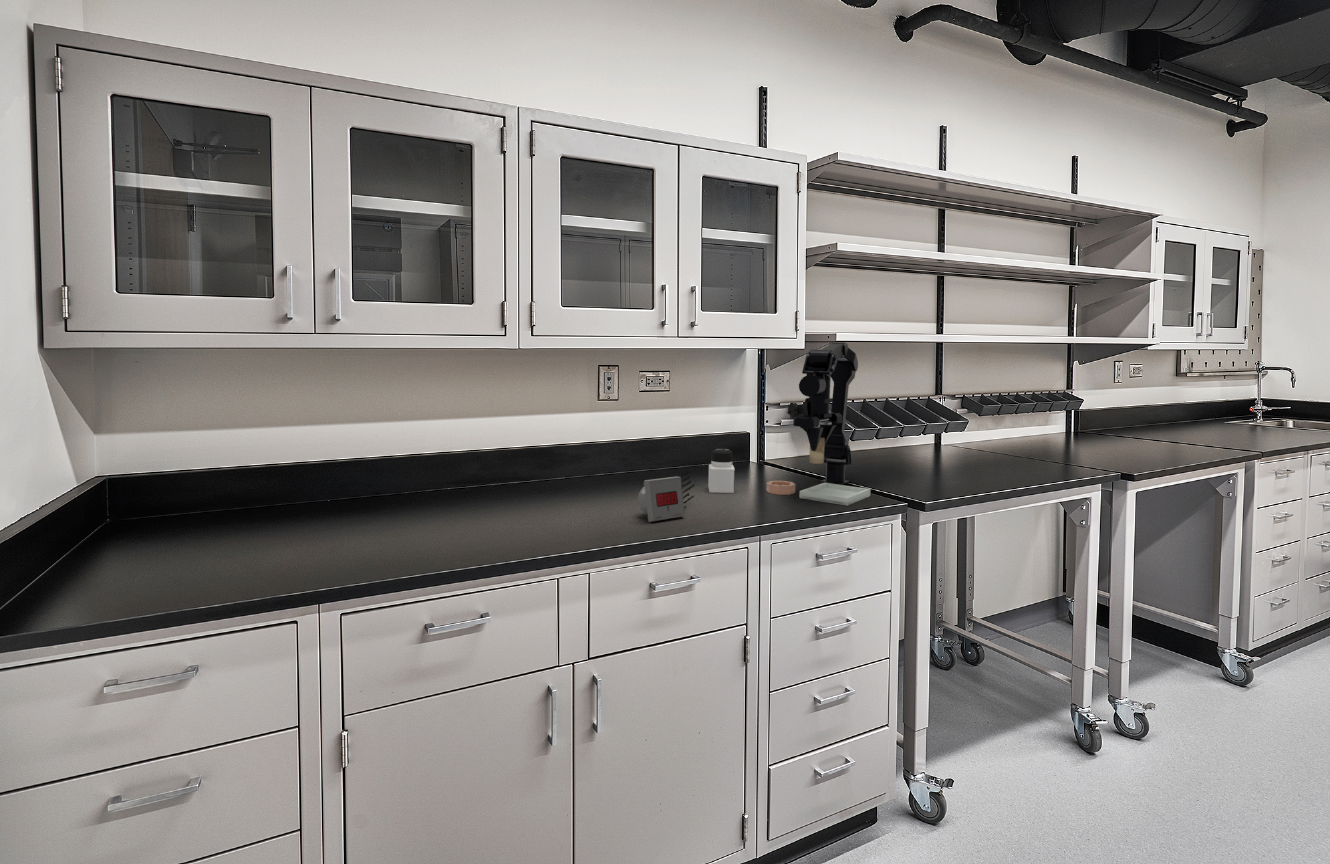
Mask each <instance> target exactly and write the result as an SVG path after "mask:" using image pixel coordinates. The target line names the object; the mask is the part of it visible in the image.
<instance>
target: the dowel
mask: <svg viewBox="0 0 1330 864" xmlns="http://www.w3.org/2000/svg"><path fill="white" fill-rule="evenodd" d="M824 443H825V438H823V437H820V440H819V443H818V446H817V448H816V451H812V450H811V447H810V446H809V455H808V456H809V462H808V463H810V464H817V465H818V464H824Z"/></svg>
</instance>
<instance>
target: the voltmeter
mask: <svg viewBox="0 0 1330 864" xmlns="http://www.w3.org/2000/svg"><path fill="white" fill-rule="evenodd" d="M696 469H697V468H696V467H694V466H693V468H691V469H689V470H687V472H684V473H683V472H682V473H681V476H670V477H663V478H654V479H653V478H652V479H646V480H643V485H644V486H643V487H642V488H641V489H640V491H639V493H638V496H637V497H638V499H637V503H638V506H639V508H640V510H641V511H642V512H643V514H645V515H647V520H648V523H651V522H657V521H665V520H671V519H678V518H682V517H685V516H686V512H685V509H686V508H687V505H685V504H687V503H688V502H689V501H690V500H692V499H693V498H694V497H695V495H692V496H690V493H689V492H688V491H689V490H691V489H693V488H694V487H695V483H694V484H691V483H692V481H691V480H689V479H690V478H691V477H690V475H688V474H689V473H692V472H693V471H695V470H696ZM686 475H688V476H686ZM685 476H686V478H683V477H685ZM687 480H689V481H687ZM686 481H687V482H686ZM684 482H686V483H684ZM690 484H691V486H689V487H688V488H685V487H686V486H688V485H690ZM684 488H685V489H684ZM686 492H687V493H686ZM685 493H686V494H685ZM688 496H689V498H687V497H688ZM686 498H687V499H686ZM684 499H686V500H685V501H684Z"/></svg>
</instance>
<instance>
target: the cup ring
mask: <svg viewBox="0 0 1330 864" xmlns="http://www.w3.org/2000/svg"><path fill="white" fill-rule="evenodd" d="M765 488H766V489H765V490H766V492H767V493H769V494H773V495H777V496H778V495H780V496H783V495H784V496H785V495H787V496H789V495H790V496H791V495H793V494H796V483H794V482H793V481H788V480H787V481H786V480H770V481H767V482H766V487H765Z"/></svg>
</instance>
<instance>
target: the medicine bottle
mask: <svg viewBox="0 0 1330 864" xmlns="http://www.w3.org/2000/svg"><path fill="white" fill-rule="evenodd" d="M733 453H734V452H733V451H732V450H730V449H726V448H716V449H713V450H712V451H711V460H710V461H711V462H710V464H708V488H707V489H708V492H709V493H711V494H712V493H713V494H714V493H715V494H734V493H735V485H736V482H735V479H736V477H735V476H736V470H735V469H736V468H735V466H734V465H733Z"/></svg>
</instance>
